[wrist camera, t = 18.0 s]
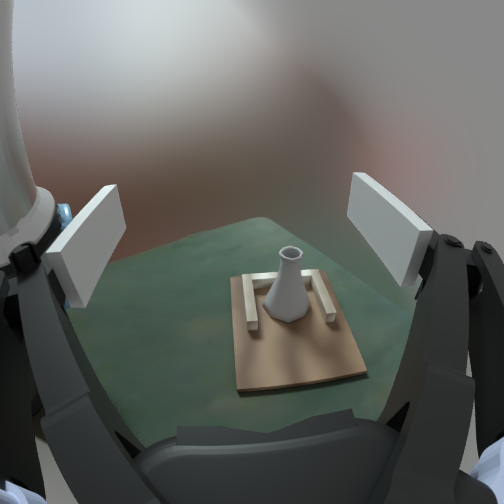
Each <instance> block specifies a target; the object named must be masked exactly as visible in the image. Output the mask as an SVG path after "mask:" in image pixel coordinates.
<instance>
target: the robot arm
mask: <svg viewBox="0 0 504 504" xmlns="http://www.w3.org/2000/svg"><path fill="white" fill-rule="evenodd" d="M13 6H14V0H0V504H48V503H47V502H46V495H45V488H44V481H43V477H42V472H41V467H40V462H39V458H38V453H37V448H36V442H35V435H34V429H33V421H32V416H33V415H34V414H36V413H37V412H38V410H39V409H40V408H41V407H42V405H43V406H44V409H45V412H46V416H44V417H43V418H41V421H40V424H41V427H42V431H43V433H44V436H45V438H46V441H47V443H48V446H49V448H50V450H51V452H52V455H53V457H54V459H55V461H56V463H57V465H58V467H59V469H60V471H61V473H62V475H63V477H64V479H65V481H66V482H67V484H68V486H69V488H70V490H71V492H72V493H73V495H74V497H75V498H76V500H77V502H78V503H79V504H504V264H503V262H502V260H501V258H500V257H499V255H498V253H497V252H496V250H495V249H494V248H493V247H492V246H491V245H490V244H488V243H487V242H482V241H476V242H475V245H474V247H473V250H469V249H465V248H464V245H463V244H462V242H461V241H459V240H458V239H457V238H455V237H453V236H450V235H447V234H441V235H439V234H438V233H437V232H436V231H435V230H434V229H433V228H432V227H431V226H429V225H428V224H427V223H426V222H425V221H424V220H422V218H421V217H419V216H418V215H417V214H416V213H414V212H413V211H412V210H410V209H409V208H408V207H407V206H406V205H405V204H403V203H402V202H401V201H400V200H399V199H397V198H396V197H395V196H394V195H392V194H391V193H390V192H389V191H387V190H386V189H385V188H384V187H382V186H381V185H380V184H378V183H377V182H376V181H375V180H373V179H372V178H371V177H369V176H368V175H367V174H365V173H356V172H353V176H352V184H351V192H350V198H349V205H348V212H347V216H348V218H349V219H350V220H351V221H352V223H353V224H354V225H355V226H356V228H357V229H358V230H359V231H360V233H361V234H362V235H363V236H364V238H365V239H366V240H367V241H368V243H369V244H370V246H371V247H372V248H373V249H374V251H375V252H376V253H377V255H378V256H379V257H380V259H381V260H382V262H383V263H384V264H385V266H386V267H387V268H388V270H389V271H390V273H391V274H392V275H393V277H394V278H395V280H396V281H397V283H398V284H399V285H400V287H404V286H410V285H414V284H415V281H416V278H417V276H418V273H419V274H420V276H421V277H422V278H423V280H422V282H421V285H420V287H419V289H418V292H417V294H416V296H415V300H417V303H416V308H415V312H414V316H413V320H412V325H411V328H410V332H409V336H408V340H407V343H406V347H405V350H404V354H403V357H402V360H401V363H400V366H399V370H398V373H397V375H396V378H395V381H394V384H393V387H392V390H391V392H390V395H389V398H388V400H387V403H386V405H385V408H384V410H383V412H382V414H381V415H380V417H379V418H378V420H377V421H373V420H369V419H361V418H354V415H353V412H352V409H347V410H343V411H338V412H334V413H329V414H324V415H319V416H313V417H310V418H308V419H305V420H303V421H300V422H298V423H295V424H293V425H290V426H288V427H285V428H282V429H280V430H277V431H274V432H271V433H260V432H252V431H246V430H239V429H233V428H228V427H222V426H177V436H175V437H170V438H167V439H164V440H161V441H159V442H157V443H154V444H152V445H151V446H149V447H147V448H145V447H144V446H143V445H142V444H141V443H140V442H139V441H138V439H137V438H136V437H135V436H134V435H133V433H132V432H131V431H130V429H129V428H128V427H127V425H126V424H125V422H124V421H123V419H122V418H121V416H120V415H119V413H118V411H117V410H116V408H115V407H114V405H113V404H112V402H111V400H110V399H109V397H108V395H107V394H106V392H105V390H104V388H103V387H102V385H101V383H100V381H99V380H98V378H97V376H96V374H95V372H94V370H93V368H92V367H91V365H90V363H89V361H88V359H87V357H86V355H85V353H84V351H83V349H82V346H81V344H80V342H79V340H78V338H77V336H76V333H75V331H74V329H73V326H72V324H71V322H70V319H69V317H68V314H67V312H66V309H67V308H68V307H70V306H71V308H86V306H87V303H88V301H89V299H90V297H91V295H92V293H93V291H94V288H95V286H96V284H97V282H98V280H99V278H100V276H101V274H102V272H103V270H104V268H105V266H106V264H107V262H108V260H109V259H110V257H111V254H112V253H113V251H114V249H115V247H116V245H117V244H118V242H119V240H120V238H121V236H122V235H123V233H124V231H125V229H126V225H125V221H124V216H123V212H122V208H121V203H120V199H119V194H118V189H117V185H109V186H104V187H103V188H102V189H101V190H100V191H99V192H98V194H96V195H95V197H94V198H93V199H92V200H91V201H90V202H89V203H88V204H87V205H86V206H85V207H84V208H83V209H82V210H81V211H80V213H79V214H78V215H77V216H76V217H75V218H74V219H72V215H71V210H70V207H69V205H67V204H58V205H56V204H55V201H54V199H53V197H52V195H51V193H50V192H49V191H47V190H45V189H44V188H40V187H37V186H35V184H34V180H33V177H32V173H31V170H30V167H29V163H28V159H27V155H26V151H25V147H24V143H23V138H22V133H21V128H20V123H19V117H18V111H17V104H16V98H15V89H14V78H13V65H12V19H13ZM482 287H483V288H482ZM481 289H482V291H481ZM480 291H481V292H480ZM468 351H469V357H470V364H471V371H472V377H469V376H466V368H467V355H468ZM474 400H475V417H476V440H477V449H478V455H479V463H477V464H476V465H474V466H473V468H472V470H471V476H470V475H468V474H467V473H465V472H463V471H461V470H459V467H460V464H461V461H462V457H463V453H464V449H465V445H466V440H467V436H468V432H469V426H470V421H471V415H472V409H473V403H474Z"/></svg>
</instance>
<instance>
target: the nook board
mask: <svg viewBox="0 0 504 504" xmlns="http://www.w3.org/2000/svg"><path fill="white" fill-rule="evenodd" d="M277 274H278V272H271V273H257V274H242V276H239V277H230V280H231V300H232V318H233V335H234V351H235V366H236V380H237V392H246V391H258V390H269V389H278V388H286V387H294V386H301V385H308V384H314V383H320V382H326V381H331V380H337V379H342V378H347V377H352V376H356V375H361V374H365V373H366V371H367V369H366V366H365V364H364V361H363V359H362V356H361V354H360V352H359V349H358V347H357V344H356V342H355V340H354V337H353V335H352V332H351V330H350V328H349V325H348V323H347V321H346V319H345V316H344V314H343V312H342V309H341V307H340V305H339V303H338V301H337V298H336V296H335V294H334V292H333V290H332V287H331V285H330V283H329V281H328V279H327V277H326V274H325V272H324V270H322V271H318V269H312V270H301V275H302V278H303V282H304V285H305V288H306V291H307V294H308V297H309V299H310V303H311V305H310V307H309V309H308V311H307V313H306V315H305V316H304V317H301V318H299V319H297V320H294V321H292V322H289V323H288V322H285V321H282V320H279V319H276V318H273V317H271V316H270V315H269V314H268V312H267V311H266V309H265V308H264V307H263V305H262V303H263V301H264V300H265V298H266V296H267V294H268V292H269V291H270V289H271V287H272V285H273V283H274V281H275V279H276V277H277Z"/></svg>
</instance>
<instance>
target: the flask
mask: <svg viewBox="0 0 504 504" xmlns="http://www.w3.org/2000/svg"><path fill="white" fill-rule="evenodd" d="M303 255H304V253H303V252H302V251H301V250H300V249H299V248H296V247H293V246H288V247H284V248H282V249H281V251H280V252H279V256H280V257H281V262H280V267H279V271H278V274H277V277H276V279H275V281H274V283H273V285H272V287H271V289H270V291H269V292H268V294H267V296H266V298H265V300H264V301H263V303H262V305H263V307H264V308H265V309H266V311H267V312H268V314H269V315H270V316H271V317H273V318H276V319H279V320H282V321H285V322H288V323H289V322H292V321H294V320H297V319H299V318H301V317H304V316H305V315H306V313H307V311H308V309H309V307H310V305H311V303H310V299H309V297H308V294H307V291H306V288H305V285H304V282H303V278H302V275H301V266H300V263H301V258H302V257H303Z"/></svg>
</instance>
